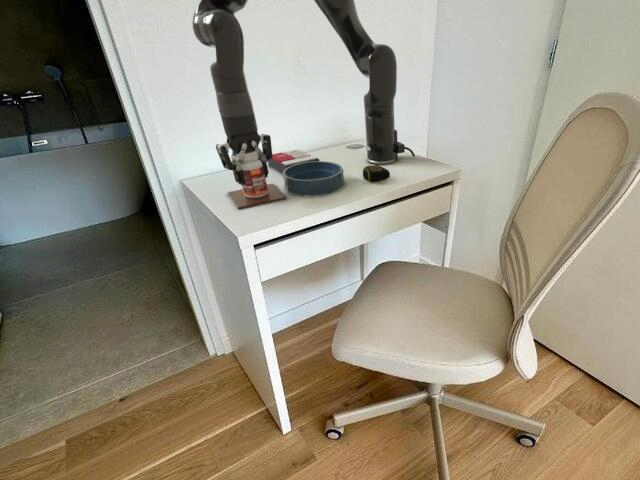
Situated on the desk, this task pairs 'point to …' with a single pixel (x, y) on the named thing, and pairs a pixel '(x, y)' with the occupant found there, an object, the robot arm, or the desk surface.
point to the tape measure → (375, 173)
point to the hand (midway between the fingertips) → (253, 180)
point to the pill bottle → (253, 176)
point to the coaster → (247, 202)
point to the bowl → (313, 178)
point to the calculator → (289, 159)
